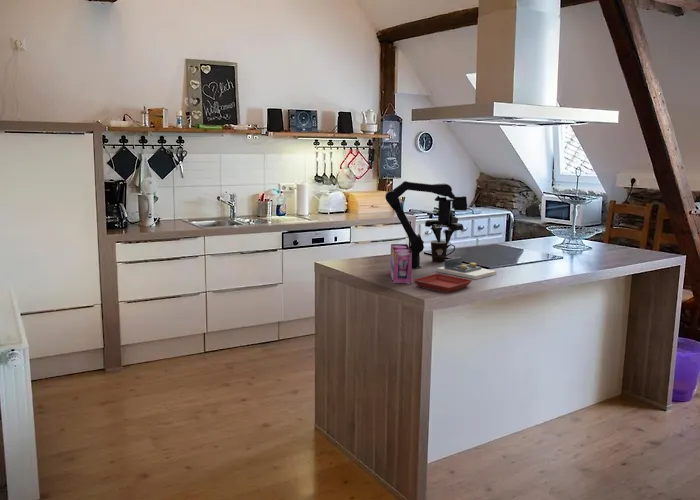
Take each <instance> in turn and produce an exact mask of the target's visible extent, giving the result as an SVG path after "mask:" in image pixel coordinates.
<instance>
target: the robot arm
mask: <svg viewBox="0 0 700 500" xmlns="http://www.w3.org/2000/svg"><path fill="white" fill-rule="evenodd" d="M406 191H413V192H414V191H415V192H425V193H430V194H435V195H437V196H436V197H435V198H434V201H435V202H438V206H437V207H438V209H437V212H436V215H437V220H435V219H429V220H426V221H425V222H424V227H425V228H426V227H428V228H430V230H431V231H432V232H433V235H434V236H435V239H436V240H437V241H438V243H440V241H441V240H442V239H441V237H442V232H441V231H442V229H443V228H446V229H445V230H444V236H445V237H444V238H445V241H446V244H448V245H449V243H450V240H451V238H452V236H453V234H454V232H457V231H461V230H464V225H463V224H462V223H458V221H459V218H458V217H456V216H453V212H451V210H452V209H453V210H454V212H455V211H458V212H460V211H461V212H466V211H467V210H468V200H467V196H465V195H464V196H455V194H454V193H453V188H452V186H451V185H450V184H448V183H443V182H442V183H433V184H432V183H431V184H430V183H422V182H412V181H407V180H404V181H402V183H400V184H399V185H398V186H396V187H395V188H394V189H392V190H388V191H387V192H386V193H385V197H384V198H385V200H386V202H387V203H388V205H389V206H390V208H392V210H393V211H394V212H395V214H396V216H397V218H398V220H399V222H400V225H401V226H402V228H403V230H404V232H405V233H406V236H407V237H408V240H409V244H410V245H408V247H409V248H410V250H411V251H412V270H415V269H420V268H422V266H421V264H420V263H421V261H420V260H421V259H420V258H421V255H420V253H422V252H423V250H424V249H425V245H424V244H425V242H424V240H423V239H422V236H421V234H420V233H418V234H417V233H416V231H415V230H414V229H413V227H412V225H411V223H410V222H409V219H408V217H407V215H406V214H405V212H404V210H403V208H402V205H401V203H400V199H399V198H400V197H401V196H402V195H404V194H405V192H406ZM447 197H448V198H450V199H447Z"/></svg>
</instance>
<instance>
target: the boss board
mask: <svg viewBox="0 0 700 500" xmlns="http://www.w3.org/2000/svg"><path fill="white" fill-rule="evenodd" d="M468 265H469V266H471V267H472V268H474V266H477V263H476V262H470V263H468ZM460 268H462V269H463V270H465V268H467V265H460ZM436 272H438V273H442V274H446V275H447V274H448V275H451V276H458V277H461V278H466V279H467V278H468V279H471V280H477V279H478V280H479V279H482V278H487V277H490V276H495V275H497V270H493V269H489V268H488V269H486V268H483V267H481V269H479V270H475V271H470V272H466V273H465V272H460V271H455V270H450V269H445V268H444V266H440V267H436Z"/></svg>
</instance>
